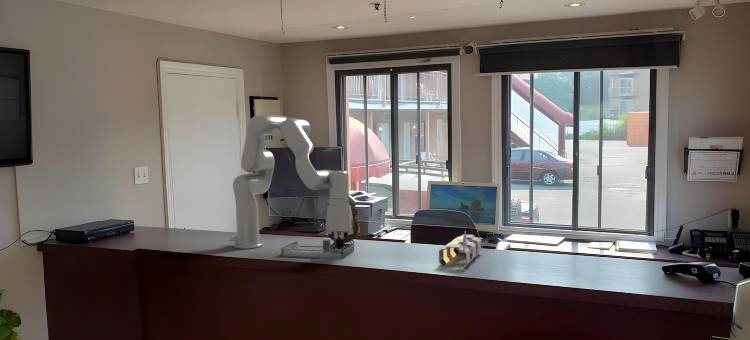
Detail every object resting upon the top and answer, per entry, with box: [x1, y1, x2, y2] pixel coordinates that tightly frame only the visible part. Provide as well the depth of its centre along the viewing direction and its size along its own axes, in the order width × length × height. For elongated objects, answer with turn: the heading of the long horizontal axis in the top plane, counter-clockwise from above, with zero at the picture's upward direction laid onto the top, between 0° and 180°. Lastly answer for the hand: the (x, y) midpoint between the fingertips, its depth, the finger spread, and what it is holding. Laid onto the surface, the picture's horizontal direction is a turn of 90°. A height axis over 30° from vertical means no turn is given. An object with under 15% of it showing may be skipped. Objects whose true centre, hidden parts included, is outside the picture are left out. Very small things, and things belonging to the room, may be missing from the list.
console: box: [280, 241, 355, 260], centre depth 223 cm, size 26×14×3 cm, turn 75°
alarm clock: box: [325, 199, 360, 246], centre depth 241 cm, size 15×7×20 cm, turn 84°
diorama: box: [438, 230, 482, 269], centre depth 207 cm, size 25×10×13 cm, turn 158°
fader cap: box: [322, 237, 331, 251], centre depth 218 cm, size 2×2×5 cm
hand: (340, 248), depth 217 cm, fingers closed
